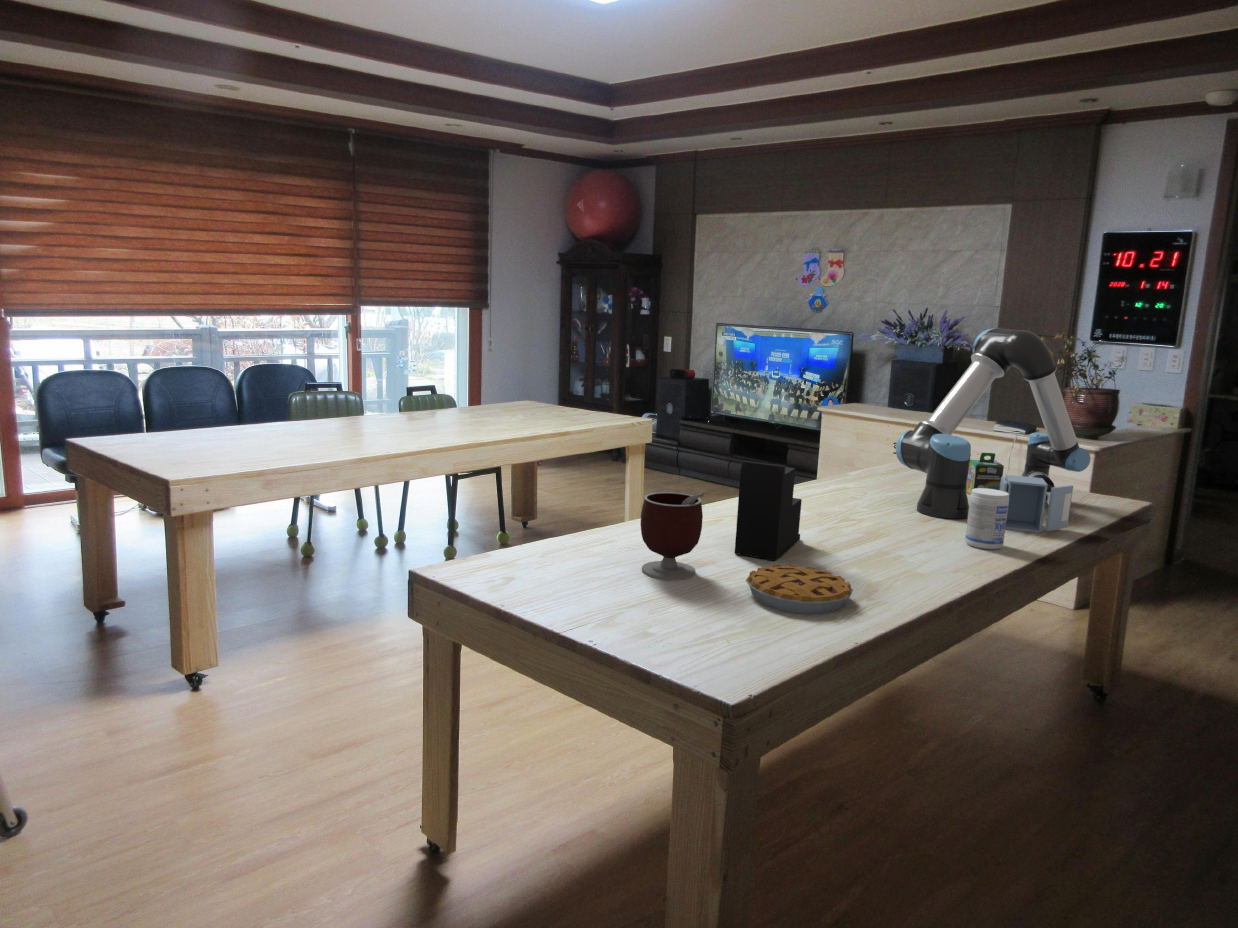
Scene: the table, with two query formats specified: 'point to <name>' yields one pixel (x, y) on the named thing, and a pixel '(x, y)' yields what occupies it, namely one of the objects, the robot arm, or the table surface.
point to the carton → (1024, 502)
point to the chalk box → (984, 473)
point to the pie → (799, 589)
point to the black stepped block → (766, 511)
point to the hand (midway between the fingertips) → (1052, 500)
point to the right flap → (1059, 507)
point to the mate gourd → (671, 532)
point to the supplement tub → (987, 518)
